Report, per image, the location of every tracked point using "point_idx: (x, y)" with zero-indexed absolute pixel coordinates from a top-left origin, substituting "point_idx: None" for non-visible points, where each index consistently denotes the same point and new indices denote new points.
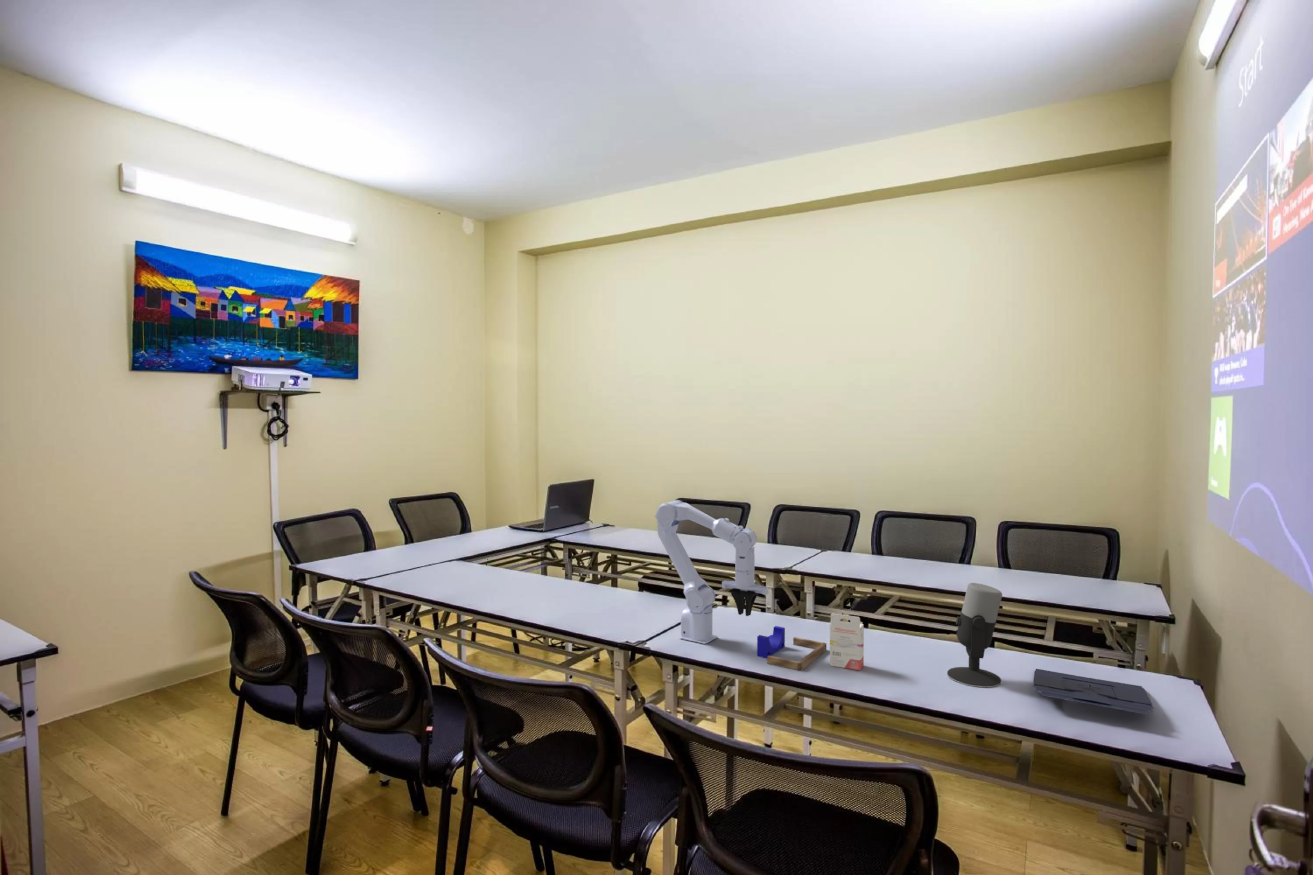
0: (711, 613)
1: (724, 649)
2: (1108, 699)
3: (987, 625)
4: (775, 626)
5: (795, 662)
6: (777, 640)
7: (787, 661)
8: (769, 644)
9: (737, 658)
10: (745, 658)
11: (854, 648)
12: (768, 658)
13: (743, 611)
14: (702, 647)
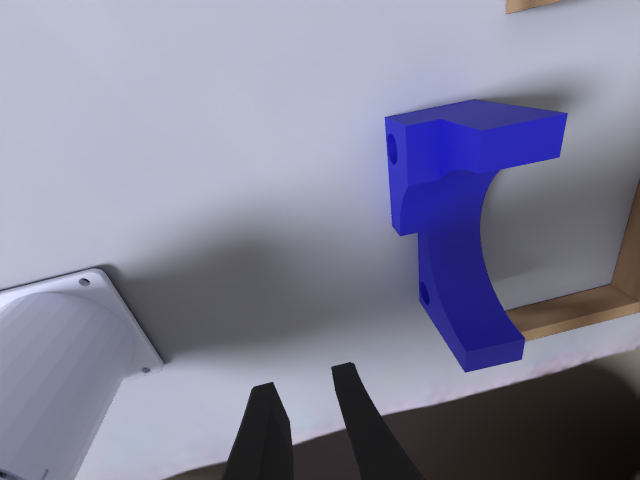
0: (39, 471)
1: (268, 343)
2: None
3: None
4: (484, 146)
5: (625, 315)
6: (478, 175)
7: (589, 322)
8: (497, 304)
9: (373, 365)
10: (396, 346)
11: None
12: None
13: (272, 395)
14: (189, 387)
